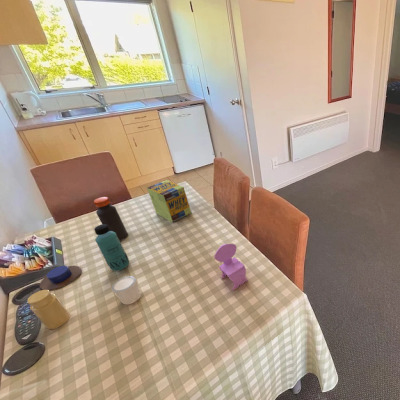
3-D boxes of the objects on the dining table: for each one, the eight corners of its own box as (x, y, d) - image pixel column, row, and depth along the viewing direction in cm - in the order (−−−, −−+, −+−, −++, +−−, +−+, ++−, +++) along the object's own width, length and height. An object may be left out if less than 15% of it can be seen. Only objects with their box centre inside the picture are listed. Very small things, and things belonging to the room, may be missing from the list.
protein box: (173, 223, 130) (163, 195, 122) (156, 213, 137) (145, 187, 130) (192, 213, 138) (184, 186, 130) (175, 204, 145) (166, 179, 137)
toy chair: (231, 293, 93) (222, 261, 85) (218, 280, 98) (209, 249, 90) (251, 279, 98) (244, 248, 91) (237, 268, 103) (231, 237, 96)
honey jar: (42, 331, 81) (20, 307, 75) (50, 316, 86) (30, 291, 80) (66, 325, 83) (46, 300, 77) (72, 310, 88) (54, 285, 82)
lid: (73, 275, 100) (70, 270, 98) (53, 285, 96) (48, 280, 94) (69, 268, 103) (65, 263, 102) (48, 278, 99) (44, 272, 98)
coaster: (33, 295, 93) (32, 294, 93) (48, 272, 103) (47, 270, 102) (75, 284, 97) (75, 283, 97) (86, 263, 107) (85, 262, 106)
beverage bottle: (108, 271, 102) (84, 230, 92) (124, 260, 108) (103, 219, 98) (119, 276, 100) (96, 234, 90) (135, 264, 106) (115, 223, 95)
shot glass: (114, 304, 89) (106, 290, 86) (130, 288, 95) (122, 274, 92) (132, 307, 88) (124, 293, 85) (147, 291, 94) (140, 277, 91)
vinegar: (128, 238, 120) (110, 200, 110) (110, 244, 117) (90, 205, 106) (128, 231, 125) (110, 194, 115) (110, 236, 121) (91, 198, 111)
